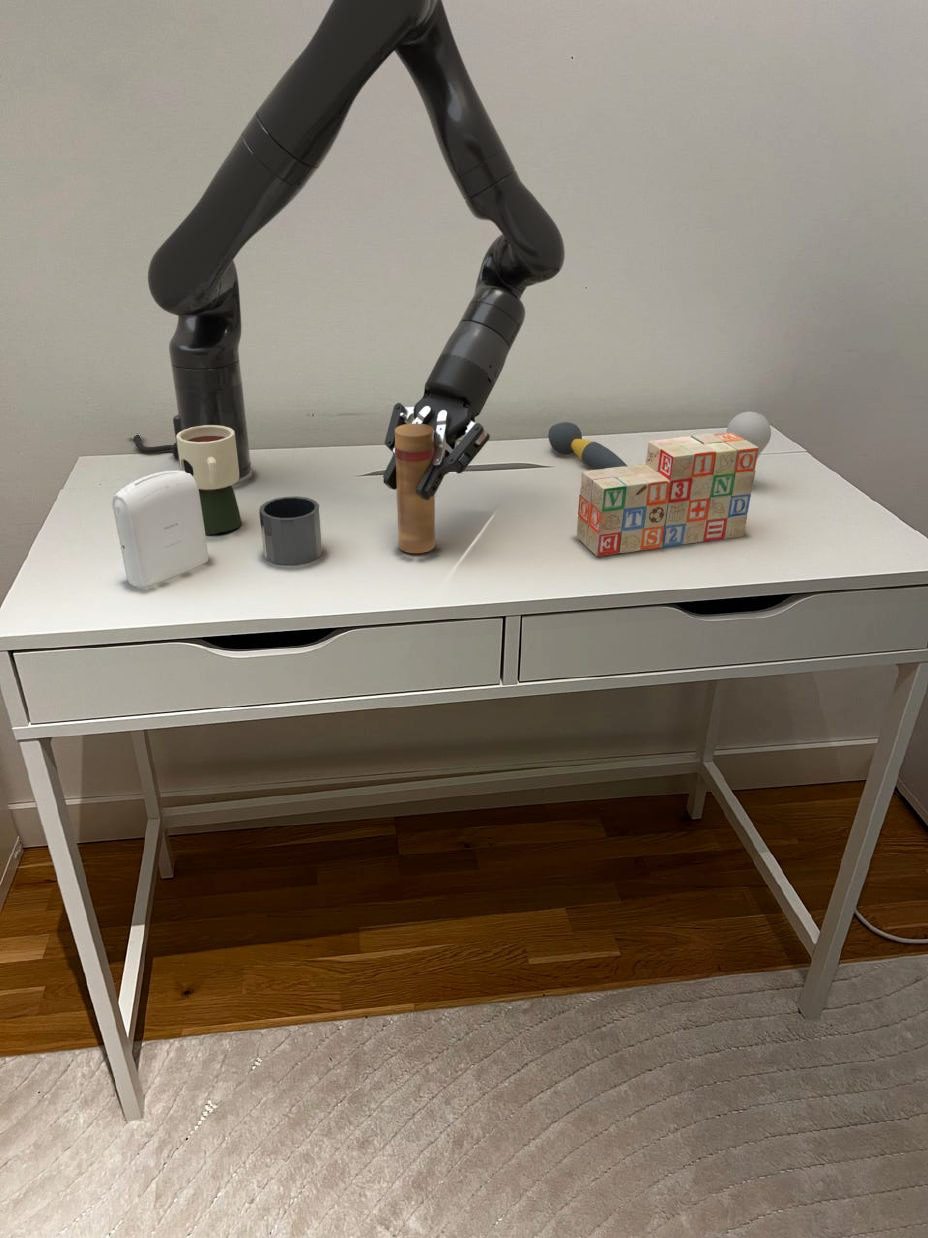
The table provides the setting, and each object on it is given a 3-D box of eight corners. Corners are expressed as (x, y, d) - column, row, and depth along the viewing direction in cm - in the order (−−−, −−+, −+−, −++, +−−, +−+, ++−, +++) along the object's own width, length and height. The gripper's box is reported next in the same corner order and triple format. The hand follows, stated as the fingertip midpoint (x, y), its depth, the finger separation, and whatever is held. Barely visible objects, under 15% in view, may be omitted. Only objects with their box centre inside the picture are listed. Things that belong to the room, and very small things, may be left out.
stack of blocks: (596, 558, 120) (604, 464, 114) (575, 538, 125) (582, 447, 119) (745, 536, 126) (760, 445, 120) (719, 517, 132) (732, 430, 125)
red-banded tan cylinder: (392, 550, 120) (387, 433, 112) (405, 535, 124) (402, 421, 116) (428, 555, 119) (426, 438, 111) (441, 540, 122) (440, 425, 115)
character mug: (185, 516, 130) (172, 423, 124) (239, 510, 133) (228, 417, 126) (194, 550, 122) (180, 451, 115) (251, 542, 124) (240, 444, 117)
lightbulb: (715, 490, 140) (726, 416, 135) (722, 475, 145) (733, 403, 140) (758, 496, 138) (771, 421, 133) (764, 481, 143) (776, 409, 138)
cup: (254, 564, 118) (248, 514, 115) (281, 540, 124) (276, 493, 121) (307, 572, 116) (303, 522, 113) (332, 548, 122) (328, 500, 119)
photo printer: (142, 594, 111) (124, 493, 105) (121, 582, 114) (102, 483, 108) (215, 563, 118) (202, 467, 112) (193, 553, 121) (180, 459, 115)
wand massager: (646, 478, 144) (650, 445, 141) (623, 485, 141) (626, 453, 139) (556, 442, 157) (557, 412, 155) (533, 448, 155) (534, 418, 152)
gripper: (408, 342, 119) (345, 463, 117) (502, 362, 111) (437, 491, 109) (436, 376, 125) (376, 491, 123) (527, 396, 118) (465, 520, 115)
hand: (405, 490), depth 116 cm, fingers closed on red-banded tan cylinder, 4 cm apart
